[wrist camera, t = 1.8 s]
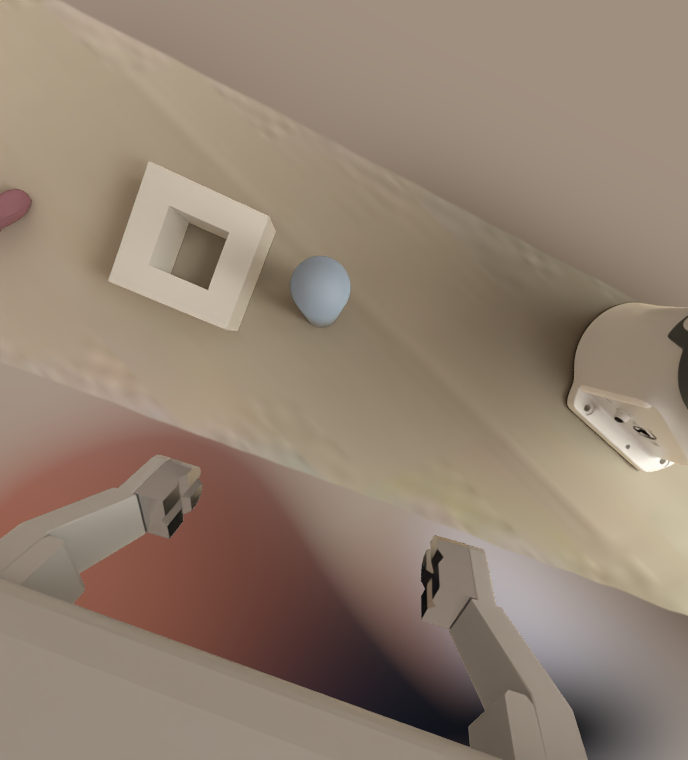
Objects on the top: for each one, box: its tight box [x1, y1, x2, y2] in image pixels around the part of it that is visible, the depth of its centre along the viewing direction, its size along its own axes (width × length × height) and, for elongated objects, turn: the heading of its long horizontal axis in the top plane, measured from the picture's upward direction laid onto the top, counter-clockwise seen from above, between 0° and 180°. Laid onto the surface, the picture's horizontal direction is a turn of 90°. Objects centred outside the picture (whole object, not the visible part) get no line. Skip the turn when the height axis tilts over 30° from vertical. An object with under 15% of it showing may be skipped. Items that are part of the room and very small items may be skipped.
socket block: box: [108, 161, 276, 331], centre depth 33 cm, size 12×12×4 cm
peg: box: [290, 256, 351, 328], centre depth 29 cm, size 4×4×16 cm
